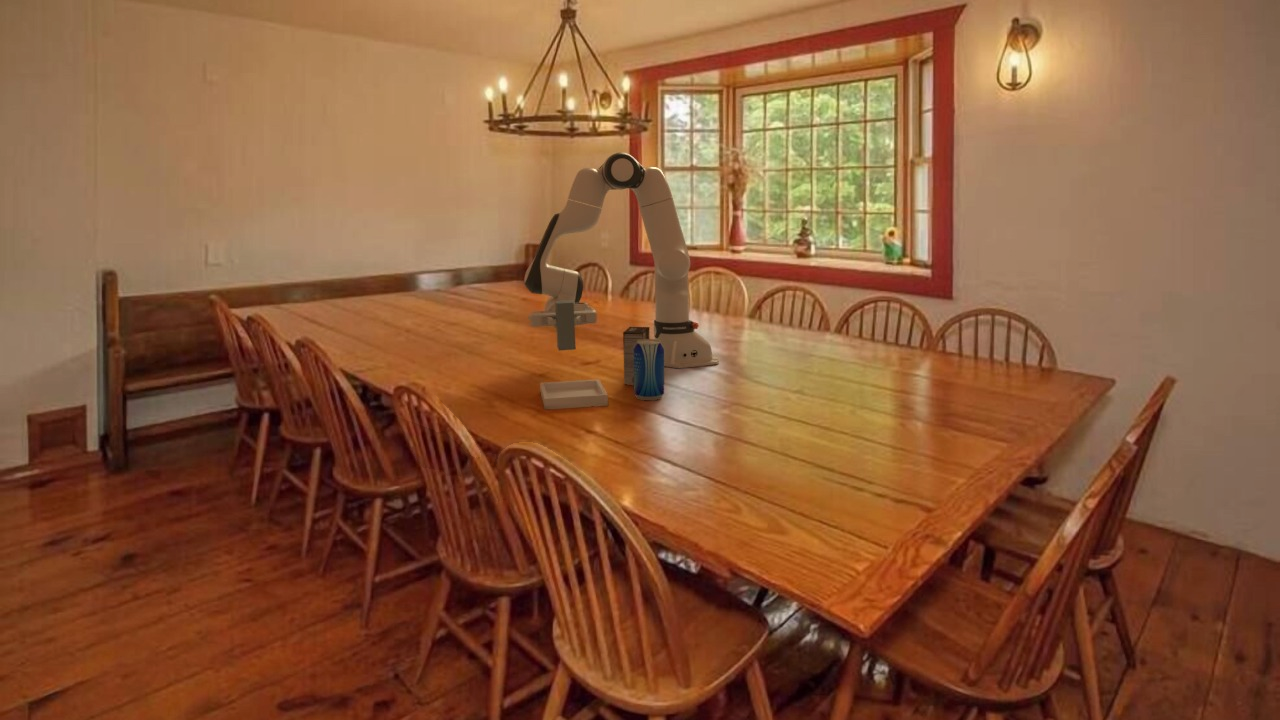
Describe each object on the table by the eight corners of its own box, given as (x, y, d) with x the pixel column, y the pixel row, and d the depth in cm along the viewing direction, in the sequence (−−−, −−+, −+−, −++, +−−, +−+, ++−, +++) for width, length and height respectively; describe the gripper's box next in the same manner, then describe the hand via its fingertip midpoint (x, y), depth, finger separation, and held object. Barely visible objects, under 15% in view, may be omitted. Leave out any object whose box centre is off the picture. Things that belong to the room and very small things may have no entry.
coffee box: (630, 377, 242) (629, 326, 238) (650, 378, 241) (650, 326, 237) (623, 385, 233) (622, 331, 230) (644, 385, 232) (644, 332, 228)
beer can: (633, 393, 224) (632, 338, 220) (662, 392, 224) (662, 338, 221) (635, 402, 215) (634, 345, 212) (665, 401, 216) (665, 344, 213)
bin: (599, 389, 229) (598, 379, 228) (608, 405, 212) (607, 394, 212) (540, 392, 226) (540, 382, 225) (544, 409, 209) (544, 398, 209)
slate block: (573, 345, 238) (571, 300, 234) (575, 349, 233) (573, 302, 230) (557, 347, 237) (555, 301, 233) (558, 350, 232) (556, 303, 229)
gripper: (526, 306, 243) (529, 313, 229) (592, 302, 246) (598, 309, 233) (528, 326, 244) (530, 334, 231) (593, 322, 248) (599, 330, 235)
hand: (565, 322), depth 232 cm, fingers closed on slate block, 5 cm apart
